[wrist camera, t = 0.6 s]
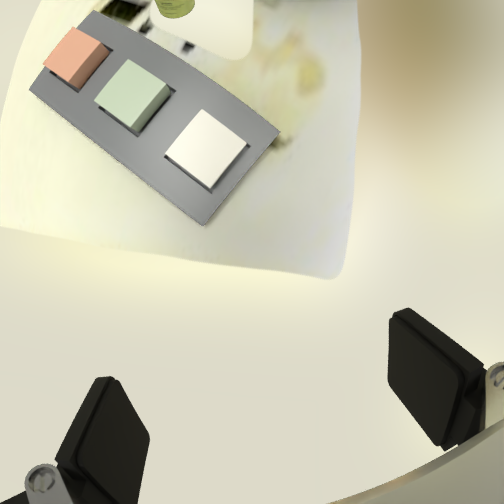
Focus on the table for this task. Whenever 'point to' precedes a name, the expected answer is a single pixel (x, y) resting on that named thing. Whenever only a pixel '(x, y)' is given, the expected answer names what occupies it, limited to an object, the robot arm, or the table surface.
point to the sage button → (133, 95)
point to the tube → (175, 7)
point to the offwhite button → (206, 148)
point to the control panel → (157, 117)
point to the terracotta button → (76, 57)
